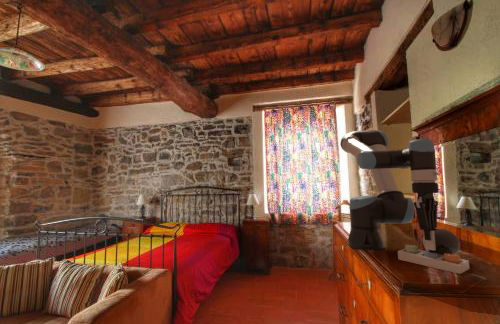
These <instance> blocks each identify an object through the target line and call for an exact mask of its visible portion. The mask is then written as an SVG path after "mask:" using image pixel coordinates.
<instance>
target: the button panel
mask: <svg viewBox="0 0 500 324" xmlns="http://www.w3.org/2000/svg"><path fill="white" fill-rule="evenodd" d="M423 251H424V250H423V249H418V253H417V254H414V253H409V252H405V248H403V249H399V250H397V259H398V261H400V260H401V261H405V262H409V263H413V264H417V265H421V266H425V267H428V268H434V269H439V270H442V271H447V272H450V273H454V274H462V273H464V272H466V271H469V270H470V261H469V260H467V259H465V258H464V259H463V258H460V263H459V264H456V263H452V262H447V261H444V255H441V254H438V258H436V259H435V258H431V257H426V256H424V253H423Z"/></svg>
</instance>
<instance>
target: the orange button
mask: <svg viewBox="0 0 500 324" xmlns="http://www.w3.org/2000/svg"><path fill="white" fill-rule="evenodd" d="M460 259H461V256H460V255H459V254H458V253H456V254H453V253H444V261H447V262H452V263H456V264H459V263H460Z"/></svg>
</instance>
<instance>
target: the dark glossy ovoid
mask: <svg viewBox="0 0 500 324" xmlns="http://www.w3.org/2000/svg"><path fill="white" fill-rule="evenodd" d="M435 229H437V231H435V230H433V231H434V236H435V246H436V250H435V251H433V250H428V249H426V251H433V252H436V253H438V254H441V255H444V253H453V254H458V252H459V251H460V249H461V242H460V240H459V238H458V237H457V235H456V233H453V232H452V231H450V230H449V229H446V228H442V227H437V228H435ZM422 244H423V246H424V247H425V244H424V235H423V237H422Z"/></svg>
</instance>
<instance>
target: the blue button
mask: <svg viewBox="0 0 500 324" xmlns="http://www.w3.org/2000/svg"><path fill="white" fill-rule="evenodd" d="M423 253H424V256H426V257H431V258H435V259H436V258H438V253H436V252H433V251H429V250H423Z"/></svg>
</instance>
